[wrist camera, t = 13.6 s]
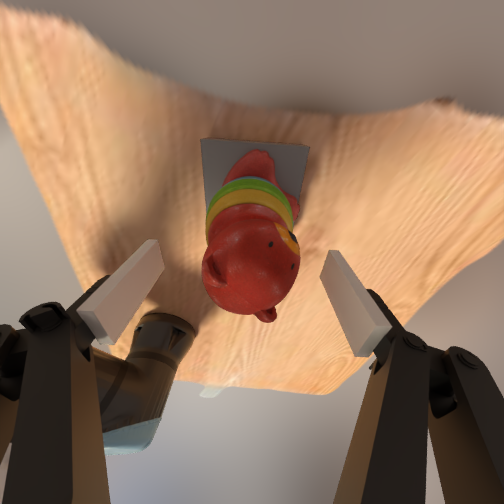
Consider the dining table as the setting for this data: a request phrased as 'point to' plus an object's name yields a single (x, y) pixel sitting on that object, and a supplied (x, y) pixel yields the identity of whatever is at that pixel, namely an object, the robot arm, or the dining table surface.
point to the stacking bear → (251, 240)
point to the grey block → (230, 151)
